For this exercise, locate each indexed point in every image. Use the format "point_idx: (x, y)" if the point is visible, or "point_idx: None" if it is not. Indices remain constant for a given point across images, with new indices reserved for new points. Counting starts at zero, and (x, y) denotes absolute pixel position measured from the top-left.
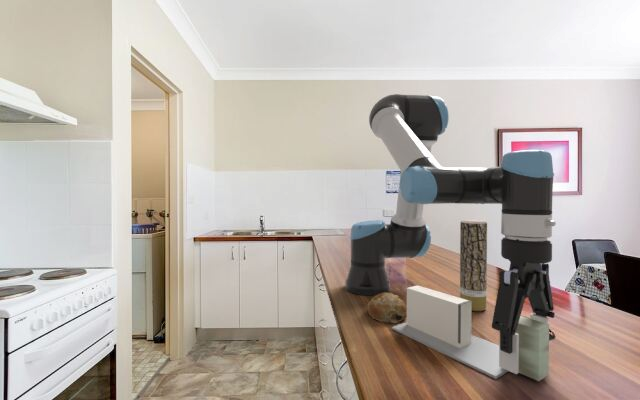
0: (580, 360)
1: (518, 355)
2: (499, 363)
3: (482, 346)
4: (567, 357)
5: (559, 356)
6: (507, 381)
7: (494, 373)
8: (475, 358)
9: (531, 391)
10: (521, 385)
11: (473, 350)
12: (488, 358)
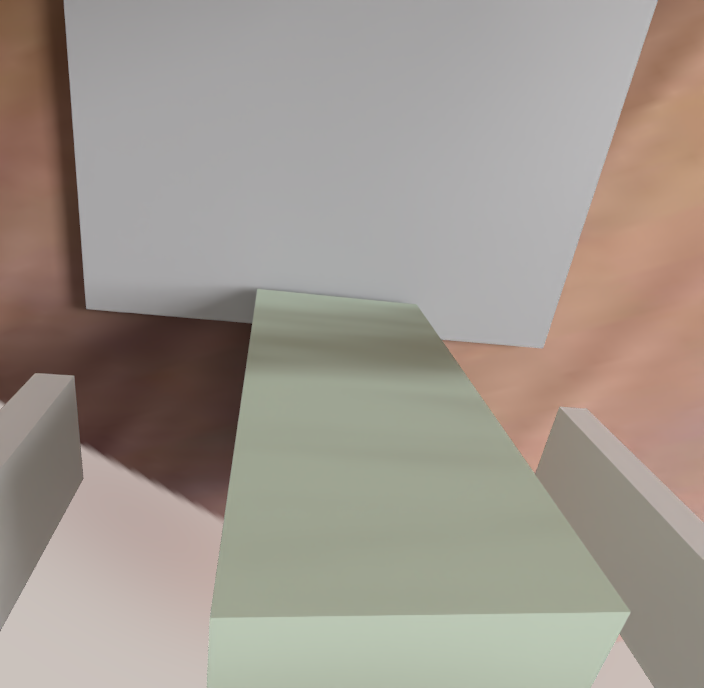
0: (690, 506)
1: (18, 587)
2: (24, 387)
3: (494, 45)
4: (693, 466)
5: (683, 440)
6: (139, 354)
7: (113, 288)
8: (211, 89)
9: (156, 461)
10: (170, 414)
11: (352, 7)
12: (304, 173)
